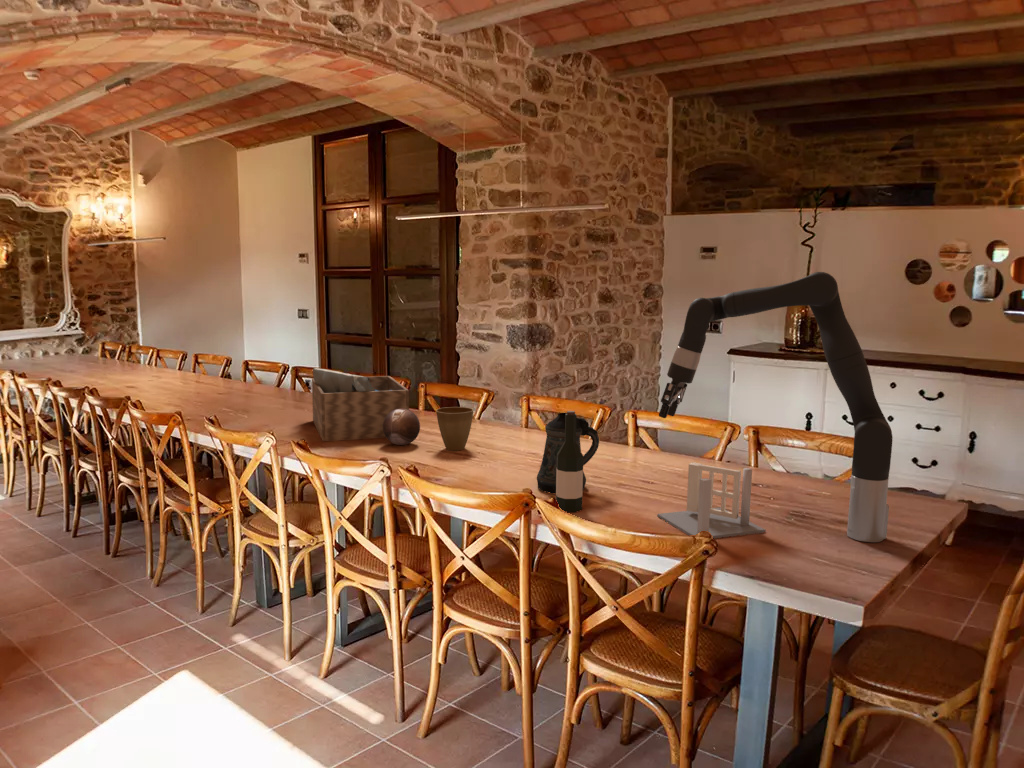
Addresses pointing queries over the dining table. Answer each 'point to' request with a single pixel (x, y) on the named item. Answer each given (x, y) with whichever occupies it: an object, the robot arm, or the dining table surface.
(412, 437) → the wooden sphere
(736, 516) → the gate
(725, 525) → the gate frame
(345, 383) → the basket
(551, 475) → the beer stein
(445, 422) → the plant pot
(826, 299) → the robot arm
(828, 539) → the dining table surface
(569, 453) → the wine bottle
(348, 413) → the crate
